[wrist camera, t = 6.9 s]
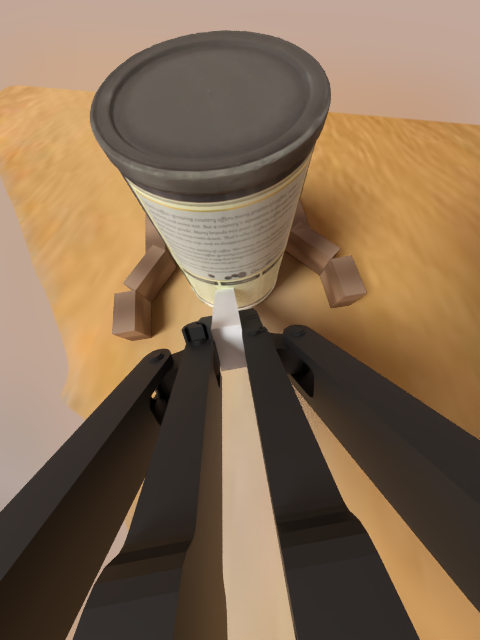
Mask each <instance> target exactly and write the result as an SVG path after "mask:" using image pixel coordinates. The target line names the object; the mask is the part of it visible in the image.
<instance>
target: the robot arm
mask: <svg viewBox="0 0 480 640" xmlns="http://www.w3.org/2000/svg"><path fill="white" fill-rule="evenodd" d="M182 333H183V336H184V339H185V342H186V346H185V349H184V350H182V351H180V352H177V353H174V354H172V355H171V352H170V351H169V350H168V349H158V350H156V351H152V352H151V353H149V354H148V355H146V356H145V357H144V358H143V359H142V360H141V361H140V362H139V364H138V365H137V366H136V367H135V368H134V369H133V370H132V371H131V372H130V373H129V374H128V375H127V376H126V378H125V379H124V380H123V381H122V382H121V383H120V384H119V385H118V386H117V387H116V388H115V389H114V390H113V391H112V393H111V394H110V395H109V396H108V397H107V398H106V399H105V400H104V401H103V402H102V403H101V404H100V405H99V407H98V408H97V409H96V410H95V411H94V412H93V413H92V414H91V415H90V416H89V417H88V418H87V419H86V421H85V422H84V423H83V424H82V425H81V426H80V427H79V428H78V429H77V430H76V431H75V432H74V433H73V435H72V436H71V437H70V438H69V439H68V440H67V441H66V442H65V443H64V444H63V446H61V447H60V449H59V450H58V451H57V452H56V453H55V454H54V455H53V456H52V457H51V458H50V459H49V460H48V461H47V462H46V464H45V465H44V466H43V467H42V468H41V469H40V470H39V471H38V472H37V473H36V475H34V477H33V478H32V479H31V480H30V481H29V482H28V483H27V484H26V485H25V486H24V487H23V488H22V489H21V491H20V492H19V493H18V494H17V495H16V496H15V497H14V498H13V499H12V500H11V501H10V502H9V504H7V506H6V507H5V508H4V509H3V510H2V511H1V512H0V640H65V639H66V637H67V635H68V633H69V631H70V629H71V627H72V625H73V623H74V621H75V619H76V617H77V615H78V612H79V611H80V609H81V607H82V605H83V602H84V601H85V598H86V596H87V594H88V592H89V590H90V588H91V586H92V584H93V582H94V580H95V578H96V576H97V574H98V572H99V570H100V568H101V566H102V564H103V562H104V560H105V558H106V556H107V554H108V552H109V550H110V548H111V546H112V543H113V542H114V540H115V537H116V535H117V533H118V531H119V529H120V527H121V525H122V523H123V521H124V519H125V517H126V515H127V513H128V511H129V509H130V507H131V505H132V503H133V501H134V499H135V497H136V495H137V493H138V491H139V489H140V487H141V485H142V483H143V481H144V483H143V486H142V490H141V493H140V496H139V499H138V503H137V506H136V509H135V512H134V516H133V519H132V522H131V526H130V529H129V532H128V535H127V538H126V541H125V543H124V546H123V548H122V549H121V551H120V553H119V554H118V555H117V556H116V557H115V558H114V559H113V560H112V561H111V562H110V563H109V564H108V565H107V566H106V567H105V568H104V569H103V571H102V573H101V574H100V576H99V578H98V579H97V581H96V583H95V584H94V586H93V589H92V591H91V593H90V596H89V598H88V600H87V603H86V605H85V607H84V610H83V612H82V615H81V618H80V621H79V623H78V626H77V629H76V632H75V634H74V637H73V640H227V609H226V596H225V589H224V582H223V565H222V376H221V373H220V367H221V371H225V370H231V369H237V368H242V367H247V368H248V374H249V380H250V385H251V391H252V397H253V402H254V408H255V413H256V419H257V425H258V430H259V436H260V441H261V447H262V453H263V458H264V464H265V469H266V475H267V481H268V486H269V492H270V497H271V503H272V509H273V514H274V520H275V525H276V531H277V537H278V542H279V548H280V553H281V559H282V565H283V570H284V576H285V582H286V588H287V593H288V599H289V605H290V610H291V616H292V622H293V627H294V633H295V638H296V640H420V639H419V637H418V635H417V633H416V631H415V629H414V626H413V624H412V622H411V620H410V618H409V616H408V614H407V612H406V610H405V608H404V606H403V604H402V601H401V599H400V597H399V595H398V593H397V591H396V589H395V587H394V585H393V583H392V581H391V579H390V577H389V574H388V572H387V570H386V568H385V566H384V564H383V562H382V560H381V558H380V556H379V554H378V552H377V550H376V548H375V546H374V544H373V542H372V540H371V538H370V536H369V535H368V533H367V531H366V530H365V528H364V527H363V525H362V524H361V522H360V521H359V519H358V518H357V517H356V516H355V515H354V514H353V513H351V512H350V511H349V509H348V508H347V506H346V505H345V503H344V501H343V499H342V497H341V495H340V492H339V490H338V488H337V486H336V483H335V481H334V479H333V477H332V474H331V472H330V470H329V468H328V465H327V463H326V461H325V459H324V456H323V454H322V452H321V450H320V447H319V445H318V443H317V441H316V438H315V436H314V434H313V432H312V429H311V427H310V425H309V423H308V420H307V418H306V416H305V414H304V411H303V409H302V407H301V405H300V402H299V400H298V398H297V396H296V393H295V391H294V389H293V386H292V384H293V385H294V387H295V388H296V389H297V390H298V391H299V393H300V394H301V395H302V396H303V398H304V399H305V400H306V401H307V402H308V404H309V405H310V406H311V407H312V409H313V410H314V411H315V412H316V414H317V415H318V416H319V417H320V418H321V420H322V421H323V422H324V423H325V425H326V426H327V427H328V428H329V429H330V431H331V432H332V433H333V434H334V436H335V437H336V438H337V439H338V440H339V442H340V443H341V444H342V445H343V447H344V448H345V449H346V450H347V451H348V453H349V454H350V455H351V456H352V458H353V459H354V460H355V461H356V462H357V464H358V465H359V466H360V467H361V469H362V470H363V471H364V472H365V473H366V475H367V476H368V477H369V478H370V480H371V481H372V482H373V483H374V484H375V486H376V487H377V488H378V489H379V491H380V492H381V493H382V494H383V495H384V497H385V498H386V499H387V500H388V502H389V503H390V504H391V505H392V506H393V508H394V509H395V510H396V511H397V513H398V514H399V515H400V516H401V517H402V519H403V520H404V521H405V522H406V524H407V525H408V526H409V527H410V528H411V530H412V531H413V532H414V533H415V535H416V536H417V537H418V538H419V539H420V541H421V542H422V543H423V544H424V546H425V547H426V548H427V549H428V550H429V552H430V553H431V554H432V555H433V557H434V558H435V559H436V560H437V561H438V563H439V564H440V565H441V566H442V568H443V569H444V570H445V571H446V572H447V574H448V575H449V576H450V577H451V579H452V580H453V581H454V582H455V584H456V585H457V586H458V587H459V588H460V590H461V591H462V592H463V593H464V595H465V596H466V597H467V598H468V599H469V601H470V602H471V603H472V604H473V605H474V607H475V608H476V609H477V610H478V611H479V612H480V440H478V439H477V438H475V437H474V436H472V435H471V434H469V433H468V432H466V431H465V430H463V429H462V428H460V427H459V426H457V425H456V424H454V423H453V422H451V421H449V420H448V419H446V418H445V417H443V416H442V415H440V414H439V413H437V412H436V411H434V410H433V409H431V408H430V407H428V406H427V405H425V404H424V403H422V402H421V401H419V400H418V399H416V398H415V397H413V396H412V395H410V394H409V393H407V392H406V391H404V390H403V389H401V388H400V387H398V386H397V385H395V384H394V383H392V382H391V381H389V380H387V379H386V378H384V377H383V376H381V375H380V374H378V373H377V372H375V371H374V370H372V369H371V368H369V367H368V366H366V365H365V364H363V363H362V362H360V361H359V360H357V359H356V358H354V357H353V356H351V355H350V354H348V353H347V352H345V351H344V350H342V349H341V348H339V347H338V346H336V345H335V344H333V343H332V342H330V341H329V340H327V339H325V338H324V337H322V336H321V335H319V334H318V333H316V332H315V331H313V330H312V329H310V328H309V327H306V326H303V325H292V326H289V327H286V328H285V329H284V332H283V334H274V333H269V332H268V330H267V329H266V328H265V327H263V325H262V323H261V320H260V318H259V316H258V313H257V311H256V310H254V309H253V308H251V309H245V310H239V311H238V308H237V303H236V297H235V292H234V288H229V289H220V290H215V298H214V307H213V316H208V317H202V318H201V319H200V320H199V321H196V322H192V323H190V324H187V325H186V326H184V327H183V328H182ZM291 383H292V384H291ZM154 391H155V392H156V395H155V397H154V398H152V397H151V396H152V394H153V392H154ZM145 476H146V477H145ZM144 478H145V480H144Z"/></svg>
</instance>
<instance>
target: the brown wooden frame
mask: <svg viewBox="0 0 480 640" xmlns="http://www.w3.org/2000/svg"><path fill="white" fill-rule="evenodd" d="M340 249H341V248H339V247H338V246H336V245H335V244H333V243H332V242H330V241H329V240H327V239H326V238H324V237H323V236H321V235H320V234H318V233H317V232H315V231H314V230H312V229H311V228H310V227H309V224H308V221H307V218H306V215H305V212H304V209H303V206H302V204H301V201H300V200H299V203H298V207H297V210H296V213H295V216H294V221H293V224H292V227H291V230H290V233H289V237H288V241H287V245H286V248H285V251H287V252H288V253H290V254H291V255H292V256H294V257H295V258H296V259H298V260H299V261H301V262H302V263H303V264H305V265H306V266H307V267H309V268H310V269H312V270H313V271H314V272H316V273H317V274H318V275H320V278H321V281H322V284H323V287H324V290H325V293H326V296H327V299H328V302H329V305H330V308H336V307H342V306H348V305H350V304H352V303H353V302H355V301H356V300H357V299H359V298H360V297H362V296H363V295H364V294H366V293H367V292H366V289H365V287H364V284H363V282H362V279H361V277H360V275H359V272H358V270H357V267H356V265H355V262H354V260H353V257H352V255H351V256H345V257H339V258H334V257H335V256H336V254H337V253H338V251H339V250H340ZM175 268H176V260H175V259H174V257H173V256H172V254H171V252H170V251H169V249H168V248H167V246H166V244H165V243H164V241H163V240H162V238H161V237H160V235H159V233H158V232H157V230H156V229H155V227H154V226H153V224H152V223H151V221H150V220H149V218H148V216H147V214H146V254H145V256H144V257H143V258H142V259H141V261H140V262H139V263H138V265H137V266H136V267H135V268H134V270H133V271H132V272H131V273H130V275H129V276H128V277H127V279H126V280H125V281H124V282H123V284H124V285H125V286H127V287H128V288H129V289H131V290H132V291H128V292H122V293H116V294H114V311H113V329H112V334H113V335H116V336H119V337H122V338H125V339H128V340H131V341H134V340H140V339H147V338H151V302H152V301H153V299H154V298H155V297H156V295H157V294H158V292H159V291H160V290H161V288H162V287H163V285H164V284H165V283H166V281H167V280H168V278H169V277H170V276H171V274H172V273H173V271H174V270H175Z"/></svg>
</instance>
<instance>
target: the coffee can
mask: <svg viewBox="0 0 480 640" xmlns="http://www.w3.org/2000/svg"><path fill="white" fill-rule="evenodd" d="M330 101H331V91H330V83H329V80H328V78H327V76H326V73H325V71H324V70H323V68H322V67H321V65H320V64H319V62H317V60H316V59H314V58H313V57H312V56H311V55H310V54H309V53H307V52H306V51H304V50H303V49H301V48H300V47H298V46H296V45H294V44H292V43H290V42H288V41H284V40H283V39H280V38H277V37H274V36H270V35H265V34H260V33H254V32H247V31H212V32H204V33H196V34H190V35H186V36H181V37H178V38H175V39H171V40H167V41H164V42H161V43H159V44H156V45H153V46H152V47H150V48H147V49H145V50H143V51H141V52H139V53H137V54H135V55H133V56H132V57H130V58H129V59H127V60H126V61H125V62H124V63H122V64H121V65H120V66H118V67H117V68H116V69H115V70H114V71H113V72H112V73H111V74H110V75H109V76H108V77H107V78H106V79H105V81H104V82H103V83H102V85H101V86H100V88H99V89H98V91H97V92H96V94H95V96H94V99H93V102H92V105H91V111H90V123H91V128H92V131H93V134H94V136H95V138H96V140H97V142H98V143H99V145H100V146H101V148H102V149H103V151H104V152H105V154H106V155H107V157H108V158H109V159H110V161H111V162H112V163H113V164H114V165H115V166H116V167H117V168H118V169H119V171H120V173H121V174H122V176H123V177H124V179H125V181H126V182H127V184H128V185H129V187H130V189H131V190H132V192H133V194H134V195H135V197H136V198H137V200H138V202H139V203H140V205H141V206H142V208H143V210H144V211H145V213H146V214H147V216H148V218H149V220H150V221H151V223H152V224H153V226H154V227H155V229H156V230H157V232H158V233H159V235H160V237H161V238H162V240H163V241H164V243H165V244H166V246H167V248H168V249H169V251H170V252H171V254H172V256H173V257H174V259H175V260H176V262H177V264H178V265H179V267H180V269H181V270H182V272H183V274H184V275H185V277H186V278H187V280H188V282H189V283H190V285H191V287H192V289H193V291H194V292H195V294H196V295H197V296H198V298H199V299H200V300H201V301H203V302H204V303H205V304H207V305H208V306H210V307H214V298H215V290H220V289H229V288H234V292H235V297H236V303H237V308H238V311H239V310H245V309H249V308H252V307H254V306H256V305H257V304H259V303H261V302H262V301H263V300H264V299H266V298H267V297H268V295H269V294H270V293H271V292H272V290H273V288H274V287H275V284H276V282H277V278H278V272H279V269H280V265H281V262H282V259H283V255H284V251H285V248H286V245H287V241H288V237H289V233H290V230H291V227H292V224H293V221H294V216H295V213H296V210H297V207H298V203H299V200H300V196H301V193H302V190H303V185H304V182H305V178H306V175H307V171H308V167H309V164H310V160H311V157H312V153H313V150H314V146H315V143H316V140H317V139H318V137H319V136H320V133H321V131H322V129H323V126H324V123H325V120H326V117H327V114H328V111H329V106H330Z"/></svg>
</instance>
